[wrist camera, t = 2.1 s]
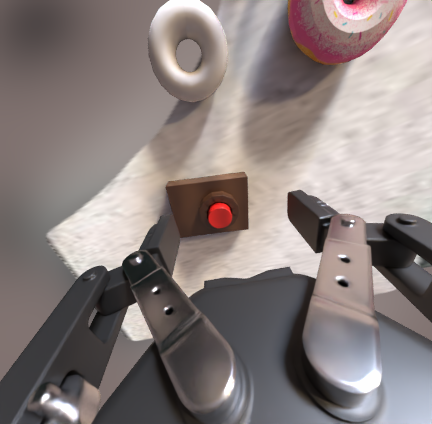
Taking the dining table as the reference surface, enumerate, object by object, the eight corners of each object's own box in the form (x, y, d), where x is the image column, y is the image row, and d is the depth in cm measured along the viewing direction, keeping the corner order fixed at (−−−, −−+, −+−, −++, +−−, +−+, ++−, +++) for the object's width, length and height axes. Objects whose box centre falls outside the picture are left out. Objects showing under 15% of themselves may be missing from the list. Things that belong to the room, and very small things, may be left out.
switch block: (180, 230, 37) (178, 243, 33) (168, 181, 32) (163, 190, 28) (245, 222, 37) (250, 234, 33) (244, 171, 32) (250, 179, 28)
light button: (209, 223, 32) (209, 229, 30) (206, 203, 30) (206, 209, 28) (231, 220, 32) (232, 226, 30) (229, 201, 30) (231, 206, 28)
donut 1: (173, 113, 27) (235, 87, 25) (168, 113, 24) (239, 83, 22) (137, 27, 22) (212, -11, 21) (126, 13, 19) (212, -32, 18)
